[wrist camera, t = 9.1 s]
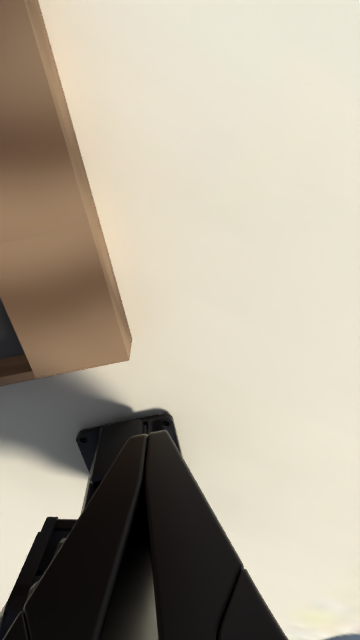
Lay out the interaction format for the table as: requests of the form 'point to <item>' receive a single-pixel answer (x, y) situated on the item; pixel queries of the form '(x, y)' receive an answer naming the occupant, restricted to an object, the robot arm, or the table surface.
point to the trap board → (48, 221)
